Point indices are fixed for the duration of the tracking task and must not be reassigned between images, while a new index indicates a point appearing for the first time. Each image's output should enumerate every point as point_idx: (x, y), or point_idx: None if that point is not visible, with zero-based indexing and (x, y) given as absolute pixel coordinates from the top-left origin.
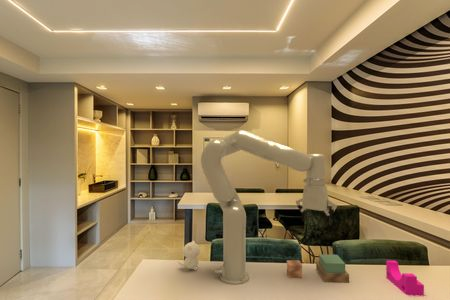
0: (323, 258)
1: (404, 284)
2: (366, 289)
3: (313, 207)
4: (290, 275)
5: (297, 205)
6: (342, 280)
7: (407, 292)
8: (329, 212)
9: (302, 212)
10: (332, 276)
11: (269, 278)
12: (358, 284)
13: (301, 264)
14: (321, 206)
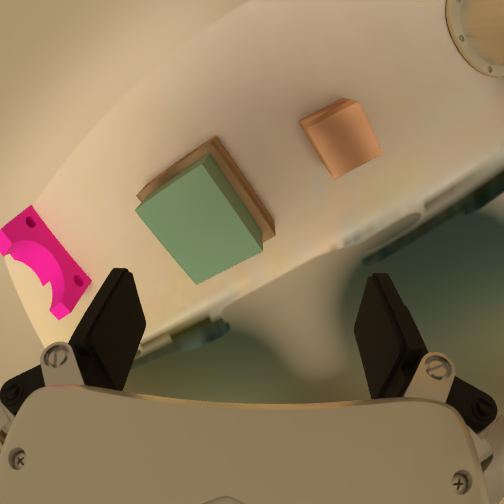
0: (229, 214)
1: (20, 222)
2: (96, 174)
3: (229, 442)
4: (340, 101)
5: (497, 416)
6: (160, 174)
7: (24, 210)
8: (43, 380)
9: (422, 346)
10: (185, 158)
11: (400, 61)
12: (122, 192)
13: (312, 138)
14: (51, 445)
